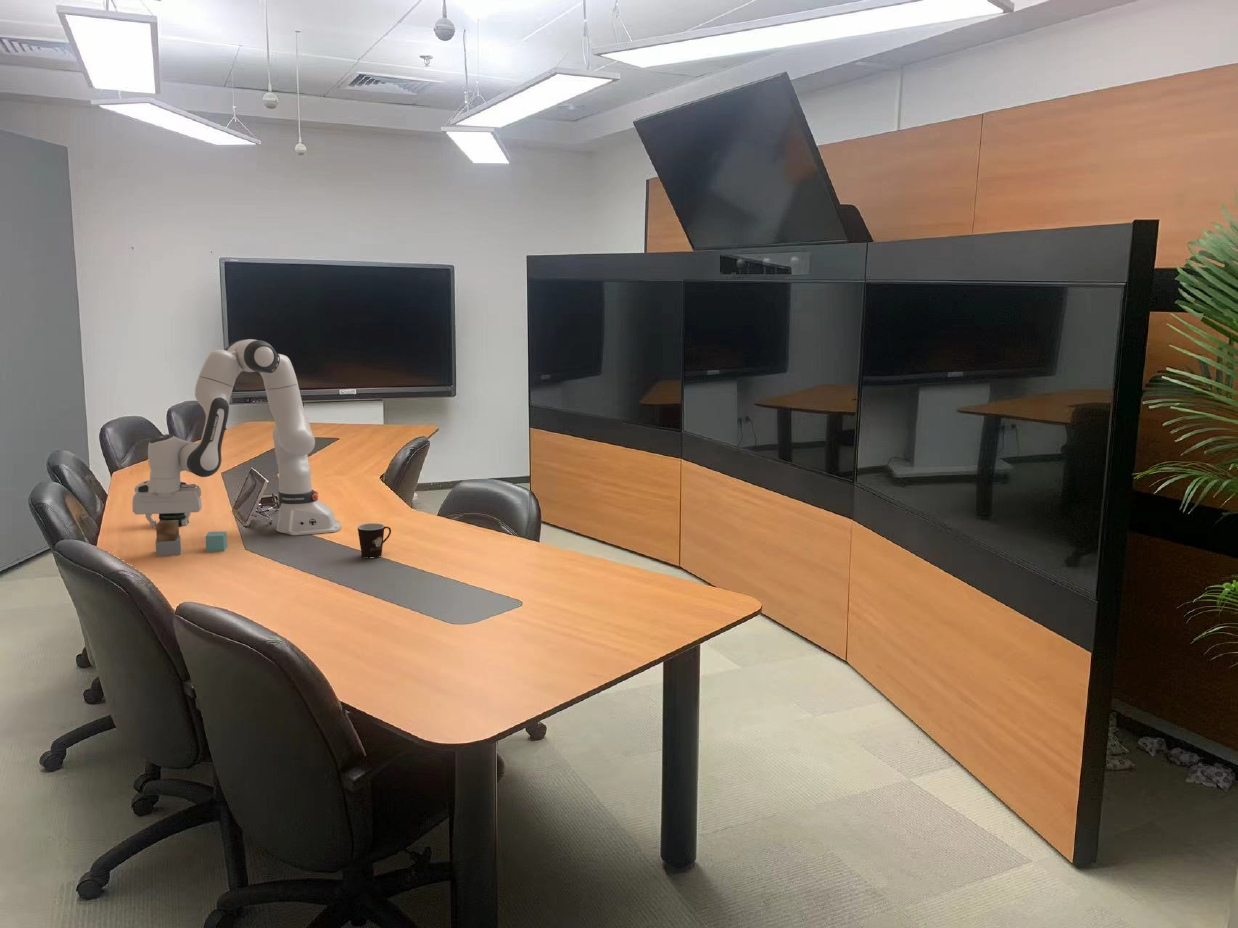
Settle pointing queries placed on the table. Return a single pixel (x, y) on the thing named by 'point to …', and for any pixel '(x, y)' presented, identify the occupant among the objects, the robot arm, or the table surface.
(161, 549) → the grey base block
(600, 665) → the table surface
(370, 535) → the coffee mug
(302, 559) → the table surface
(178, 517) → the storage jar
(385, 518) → the table surface
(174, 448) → the robot arm
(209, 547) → the teal cube
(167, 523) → the walnut cube
